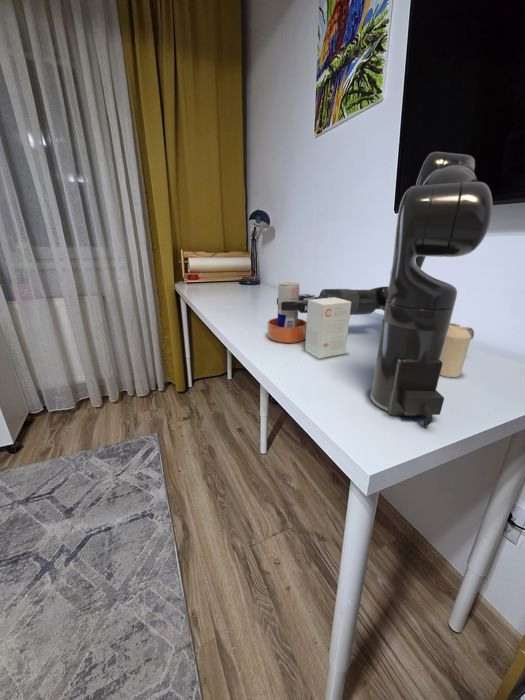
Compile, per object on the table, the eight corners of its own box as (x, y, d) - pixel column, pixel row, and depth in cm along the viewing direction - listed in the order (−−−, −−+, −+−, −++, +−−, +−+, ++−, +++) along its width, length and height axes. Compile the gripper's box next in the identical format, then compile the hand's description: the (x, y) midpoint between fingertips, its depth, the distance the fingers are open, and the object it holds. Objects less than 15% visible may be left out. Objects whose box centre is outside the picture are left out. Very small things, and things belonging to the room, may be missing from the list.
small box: (330, 346, 76) (334, 296, 72) (346, 354, 71) (352, 301, 66) (304, 350, 73) (307, 299, 68) (318, 359, 68) (323, 304, 63)
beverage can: (296, 333, 85) (299, 281, 79) (296, 339, 80) (299, 284, 74) (277, 332, 85) (279, 280, 80) (276, 338, 80) (278, 283, 75)
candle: (445, 378, 59) (458, 331, 55) (424, 368, 64) (434, 324, 60) (466, 376, 60) (480, 329, 56) (444, 365, 65) (455, 322, 61)
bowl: (308, 344, 77) (309, 328, 76) (267, 343, 78) (267, 327, 76) (304, 332, 87) (305, 317, 86) (268, 331, 88) (268, 317, 86)
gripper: (330, 285, 86) (274, 285, 84) (350, 293, 73) (285, 294, 71) (328, 309, 89) (274, 311, 87) (347, 322, 76) (283, 324, 73)
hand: (279, 303), depth 79 cm, fingers closed on beverage can, 5 cm apart
